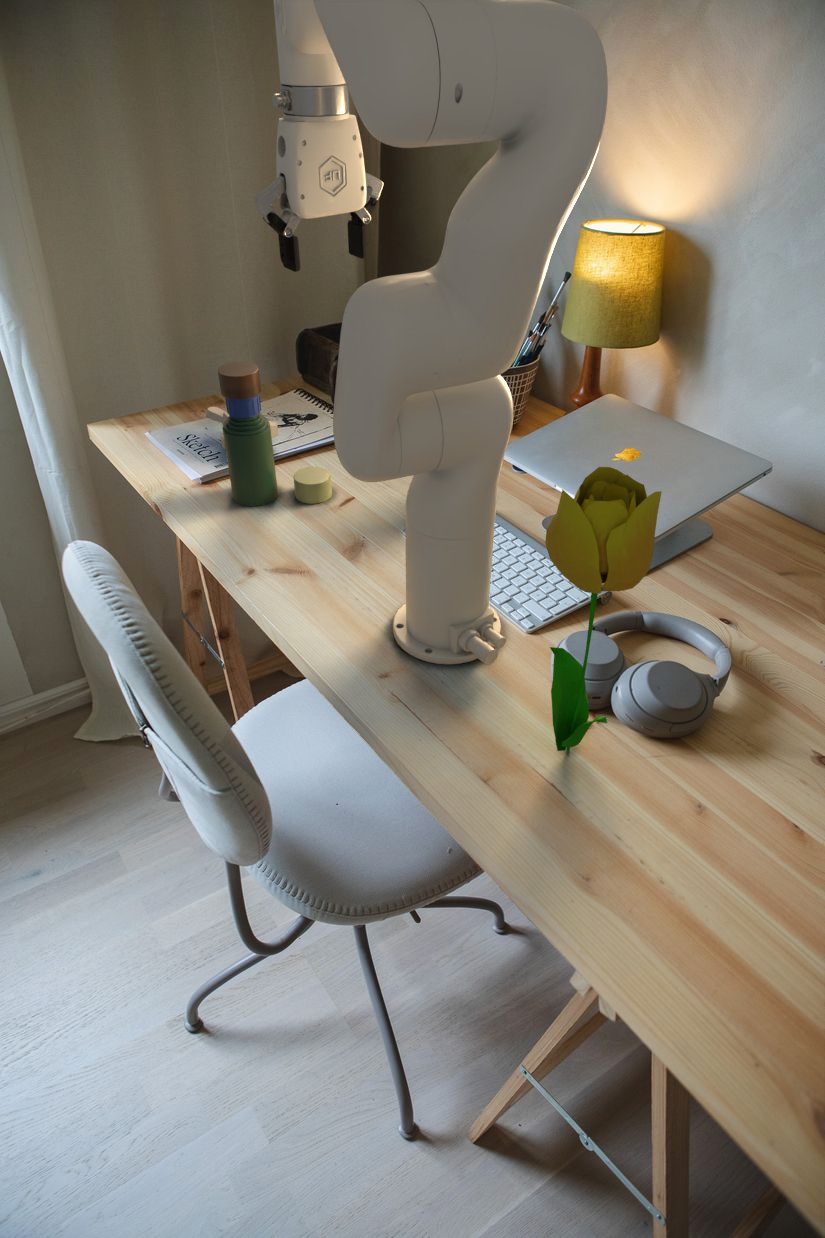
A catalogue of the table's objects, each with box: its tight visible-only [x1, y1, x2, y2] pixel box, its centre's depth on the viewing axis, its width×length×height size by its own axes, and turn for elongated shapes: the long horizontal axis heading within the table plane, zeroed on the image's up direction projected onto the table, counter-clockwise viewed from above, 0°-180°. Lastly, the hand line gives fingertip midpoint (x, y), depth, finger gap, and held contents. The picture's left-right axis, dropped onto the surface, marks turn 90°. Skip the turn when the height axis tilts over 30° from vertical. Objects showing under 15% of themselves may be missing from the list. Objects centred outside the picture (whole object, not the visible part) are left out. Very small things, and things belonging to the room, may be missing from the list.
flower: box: [544, 466, 662, 753], centre depth 73 cm, size 9×8×30 cm
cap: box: [224, 394, 262, 418], centre depth 113 cm, size 5×5×3 cm
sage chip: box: [293, 466, 333, 505], centre depth 121 cm, size 5×5×3 cm
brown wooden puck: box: [217, 361, 262, 400], centre depth 111 cm, size 5×5×3 cm
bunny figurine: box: [205, 406, 279, 450], centre depth 135 cm, size 10×5×15 cm
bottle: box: [221, 412, 279, 507], centre depth 117 cm, size 7×7×15 cm
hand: (325, 262), depth 104 cm, fingers open, 9 cm apart
